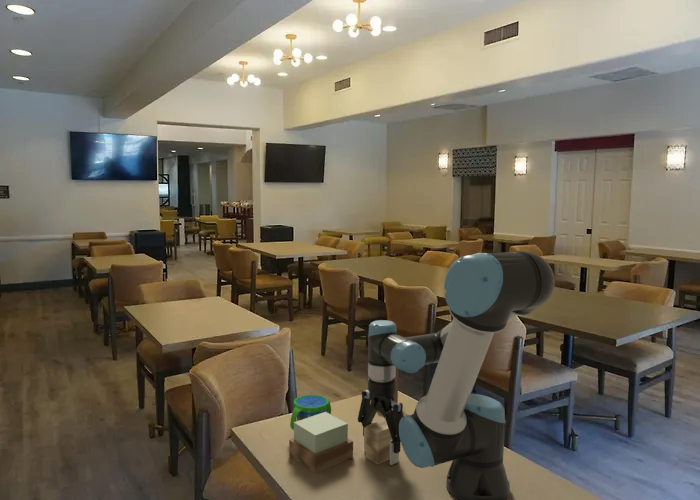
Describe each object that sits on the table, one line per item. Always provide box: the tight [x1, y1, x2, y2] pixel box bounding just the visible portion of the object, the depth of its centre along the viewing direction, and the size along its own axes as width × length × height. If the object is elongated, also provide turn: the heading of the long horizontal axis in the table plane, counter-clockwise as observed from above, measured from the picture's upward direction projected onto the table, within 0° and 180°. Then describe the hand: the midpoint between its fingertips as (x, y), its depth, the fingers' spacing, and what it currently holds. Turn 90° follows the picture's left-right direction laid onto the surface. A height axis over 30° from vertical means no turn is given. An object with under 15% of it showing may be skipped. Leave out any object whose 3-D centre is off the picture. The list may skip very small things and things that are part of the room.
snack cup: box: [289, 394, 332, 431], centre depth 158 cm, size 16×10×10 cm
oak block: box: [365, 418, 392, 465], centre depth 145 cm, size 5×7×9 cm
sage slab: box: [293, 412, 349, 454], centre depth 144 cm, size 10×11×5 cm
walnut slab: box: [288, 437, 354, 474], centre depth 145 cm, size 12×13×5 cm
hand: (380, 455), depth 145 cm, fingers open, 10 cm apart
